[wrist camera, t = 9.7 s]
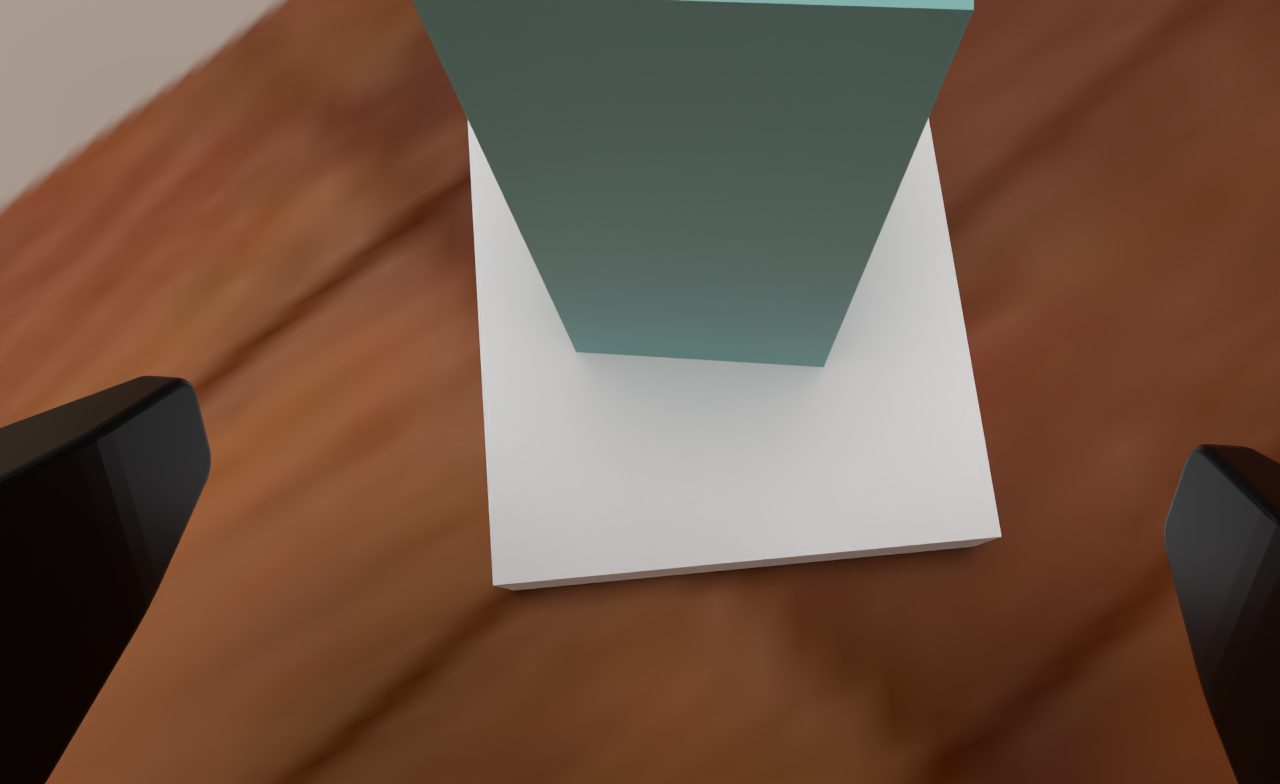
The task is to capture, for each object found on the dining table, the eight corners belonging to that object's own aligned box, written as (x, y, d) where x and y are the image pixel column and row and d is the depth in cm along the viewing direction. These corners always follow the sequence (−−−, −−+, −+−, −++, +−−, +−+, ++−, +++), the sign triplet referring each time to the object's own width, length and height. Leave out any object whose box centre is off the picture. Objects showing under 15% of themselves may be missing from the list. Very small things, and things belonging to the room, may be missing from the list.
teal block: (823, 366, 19) (973, 10, 8) (576, 352, 19) (407, -9, 8) (833, 139, 20) (977, -443, 9) (598, 128, 20) (474, -442, 10)
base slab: (972, 546, 20) (1001, 536, 18) (513, 590, 20) (493, 585, 18) (882, 4, 23) (898, -55, 21) (481, 51, 23) (461, -2, 21)
